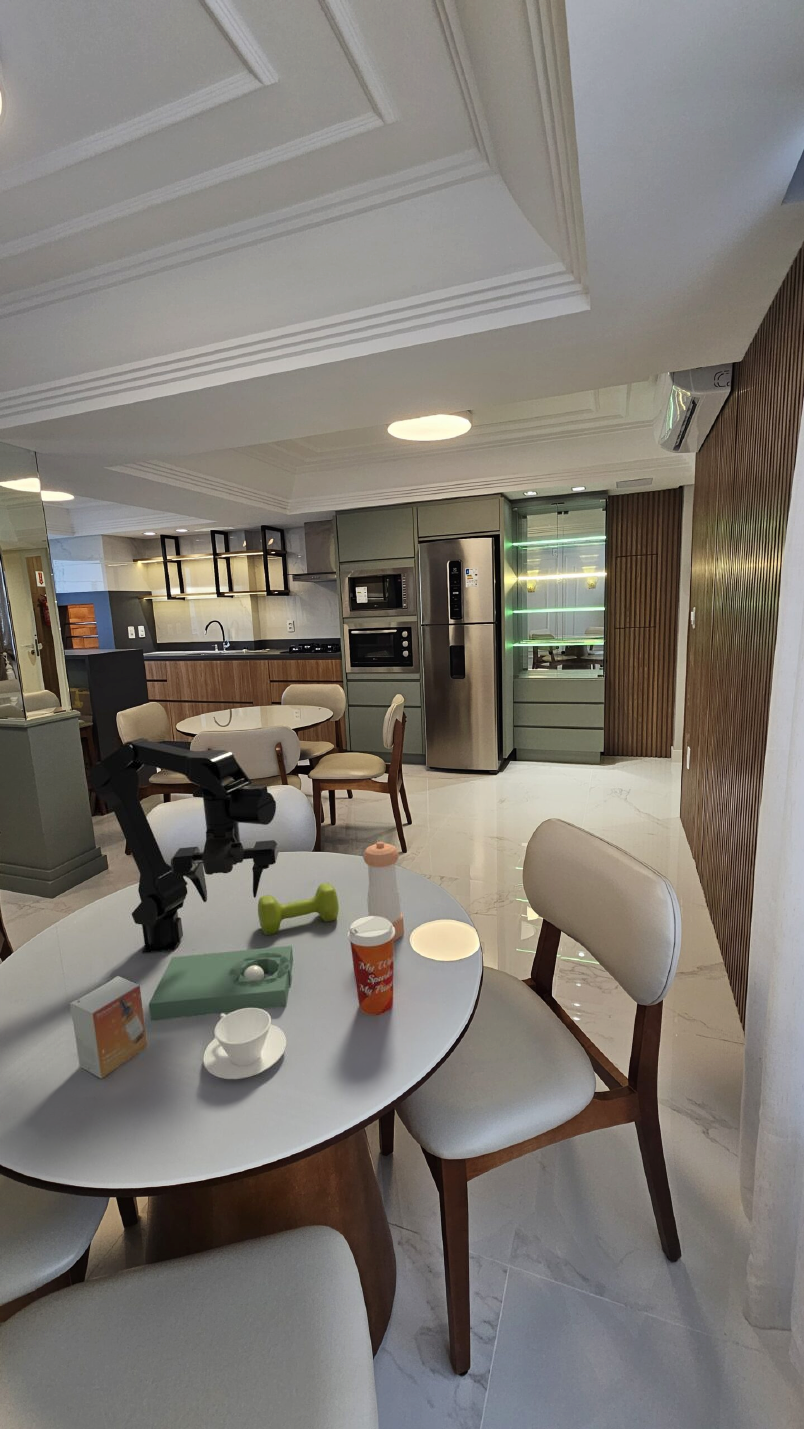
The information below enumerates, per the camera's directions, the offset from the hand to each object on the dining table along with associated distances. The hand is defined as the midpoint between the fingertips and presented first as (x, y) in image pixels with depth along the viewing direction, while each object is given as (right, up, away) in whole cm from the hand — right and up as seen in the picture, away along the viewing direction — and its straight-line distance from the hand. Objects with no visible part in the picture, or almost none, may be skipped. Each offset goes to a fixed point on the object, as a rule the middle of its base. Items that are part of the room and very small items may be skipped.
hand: (230, 899), depth 119 cm
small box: (-11, -17, -24) cm, 31 cm away
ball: (+6, -11, -8) cm, 15 cm away
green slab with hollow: (+1, -13, -8) cm, 16 cm away
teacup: (+9, -16, -25) cm, 31 cm away
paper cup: (+28, -13, -15) cm, 34 cm away
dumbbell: (+11, -10, +14) cm, 20 cm away
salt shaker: (+29, -9, +8) cm, 32 cm away
